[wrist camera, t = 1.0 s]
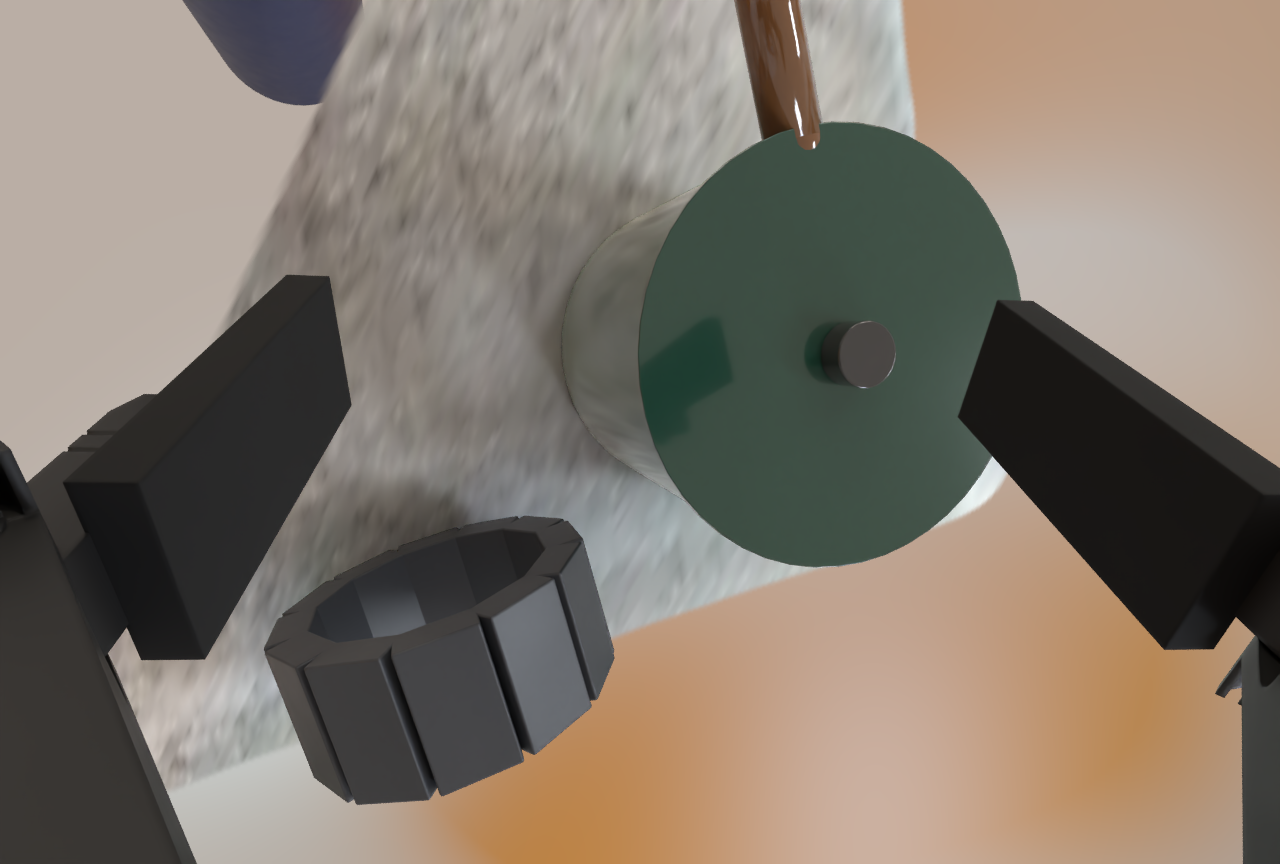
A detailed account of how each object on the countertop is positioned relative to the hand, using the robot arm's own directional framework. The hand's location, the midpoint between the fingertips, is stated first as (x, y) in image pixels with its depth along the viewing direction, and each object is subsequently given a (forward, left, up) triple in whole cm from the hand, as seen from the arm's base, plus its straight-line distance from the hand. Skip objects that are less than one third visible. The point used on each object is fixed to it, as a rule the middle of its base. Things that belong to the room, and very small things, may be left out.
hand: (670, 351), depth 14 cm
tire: (+11, +2, -18) cm, 21 cm away
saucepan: (-8, +2, -18) cm, 20 cm away
